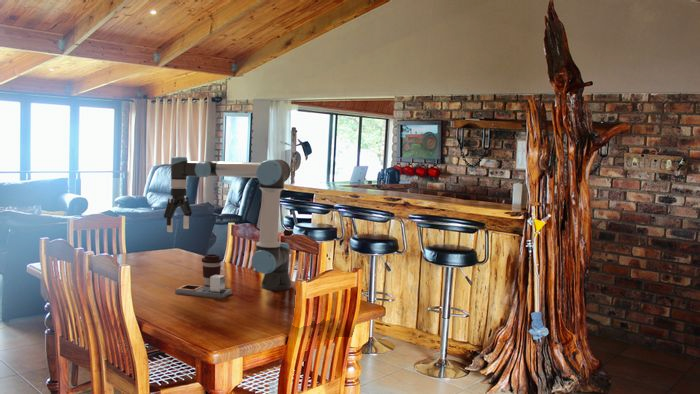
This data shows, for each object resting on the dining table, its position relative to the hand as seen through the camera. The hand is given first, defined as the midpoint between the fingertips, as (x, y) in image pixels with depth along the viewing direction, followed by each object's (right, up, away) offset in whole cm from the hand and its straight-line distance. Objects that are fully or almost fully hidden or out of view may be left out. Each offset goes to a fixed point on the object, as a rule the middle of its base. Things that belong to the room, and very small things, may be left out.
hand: (178, 230), depth 293 cm
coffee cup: (+16, -28, +4) cm, 32 cm away
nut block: (+23, -29, -17) cm, 41 cm away
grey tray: (+17, -29, -16) cm, 37 cm away
